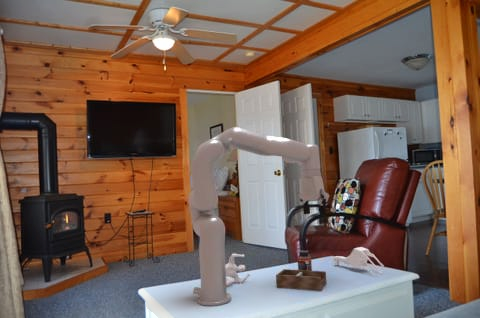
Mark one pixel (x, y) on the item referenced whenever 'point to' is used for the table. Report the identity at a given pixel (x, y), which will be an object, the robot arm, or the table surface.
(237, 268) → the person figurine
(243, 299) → the table surface
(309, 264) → the supplement bottle
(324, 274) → the brown wooden box
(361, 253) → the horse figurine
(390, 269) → the table surface
